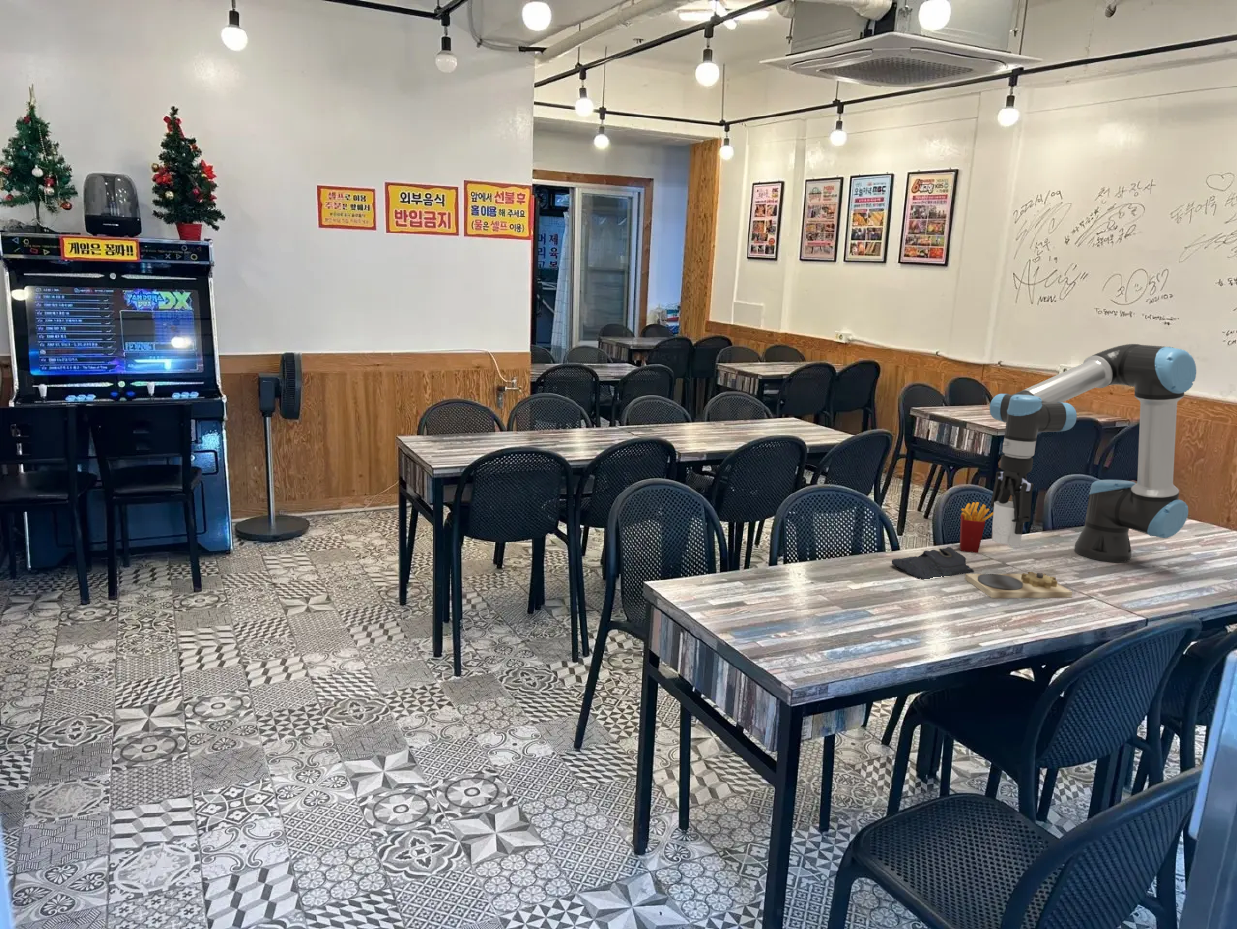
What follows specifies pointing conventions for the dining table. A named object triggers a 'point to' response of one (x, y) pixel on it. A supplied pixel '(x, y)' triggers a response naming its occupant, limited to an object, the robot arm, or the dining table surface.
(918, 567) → the dark slate chunk
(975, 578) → the gear board
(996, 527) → the white cup
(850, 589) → the dining table surface
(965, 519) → the french fries
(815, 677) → the dining table surface
